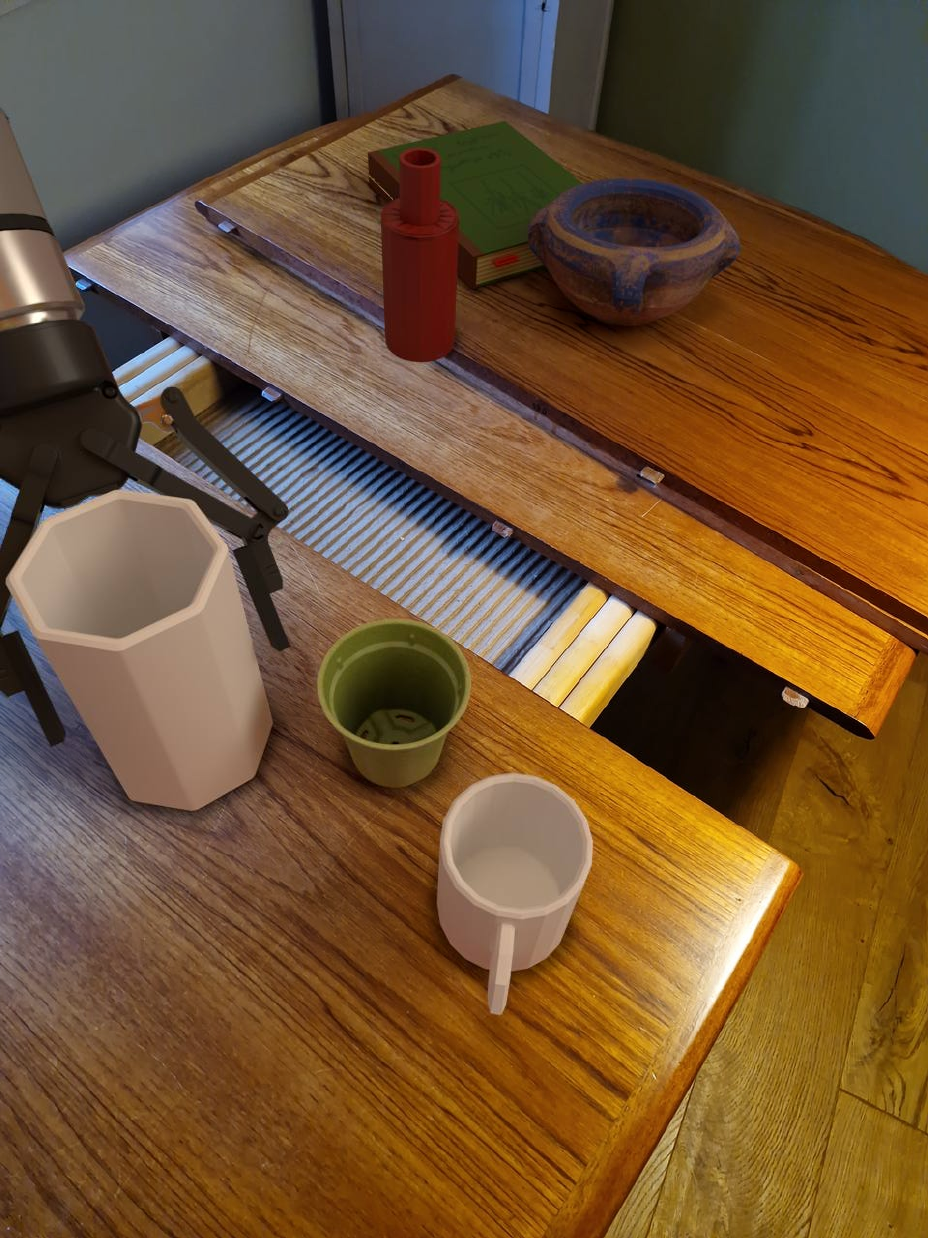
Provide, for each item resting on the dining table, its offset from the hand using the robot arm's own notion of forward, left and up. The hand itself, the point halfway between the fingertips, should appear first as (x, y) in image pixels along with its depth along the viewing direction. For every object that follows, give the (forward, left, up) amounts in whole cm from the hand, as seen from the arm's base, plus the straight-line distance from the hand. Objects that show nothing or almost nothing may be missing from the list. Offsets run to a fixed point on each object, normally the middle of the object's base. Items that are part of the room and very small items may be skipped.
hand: (174, 692), depth 53 cm
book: (+7, +74, -9) cm, 75 cm away
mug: (+21, -8, -9) cm, 24 cm away
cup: (-2, +2, -9) cm, 9 cm away
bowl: (+23, +61, -9) cm, 66 cm away
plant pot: (+12, +4, -9) cm, 16 cm away
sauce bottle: (+4, +49, -9) cm, 50 cm away
